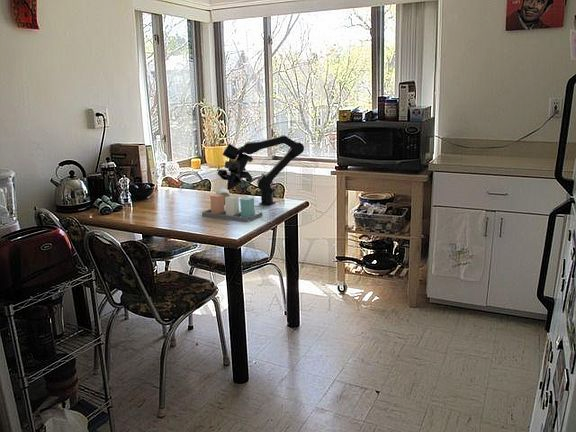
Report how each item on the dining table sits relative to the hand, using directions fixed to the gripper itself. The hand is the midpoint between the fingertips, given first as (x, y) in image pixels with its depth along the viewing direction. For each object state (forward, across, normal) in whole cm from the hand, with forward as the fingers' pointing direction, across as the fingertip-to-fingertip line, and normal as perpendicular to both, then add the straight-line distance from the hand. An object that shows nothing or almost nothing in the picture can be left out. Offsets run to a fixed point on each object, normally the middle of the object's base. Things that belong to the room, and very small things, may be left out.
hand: (228, 189), depth 249 cm
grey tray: (+14, +10, +1) cm, 17 cm away
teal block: (+14, +19, +1) cm, 23 cm away
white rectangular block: (+14, +10, 0) cm, 17 cm away
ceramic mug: (-1, -12, +17) cm, 21 cm away
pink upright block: (+14, +1, 0) cm, 14 cm away
